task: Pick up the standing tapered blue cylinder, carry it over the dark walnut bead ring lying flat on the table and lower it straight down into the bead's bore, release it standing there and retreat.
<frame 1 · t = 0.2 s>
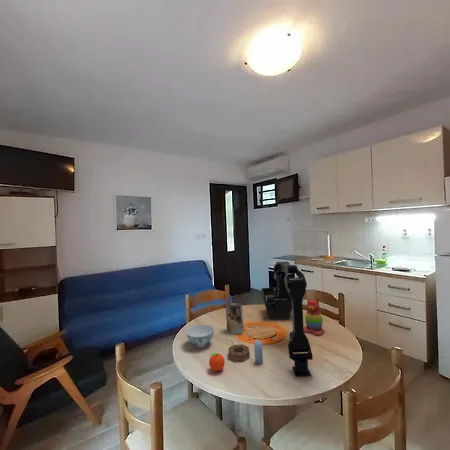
hand: (284, 314, 137), 14 cm above the table, fingers open, 9 cm apart
tapered blue cylinder: (259, 361, 119), on the table
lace: (231, 343, 137), on the table
black bin: (277, 316, 173), on the table
chinaware: (200, 344, 138), on the table
clementine: (216, 369, 115), on the table
bead: (239, 355, 125), on the table
stacking bear: (314, 331, 147), on the table
coffee box: (235, 331, 152), on the table
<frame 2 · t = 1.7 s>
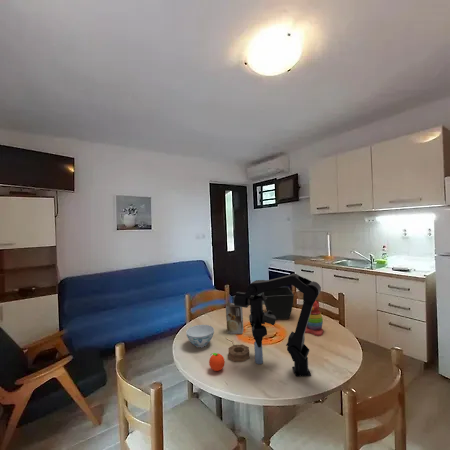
hand: (258, 342, 119), 9 cm above the table, fingers open, 9 cm apart
nothing on the table moved.
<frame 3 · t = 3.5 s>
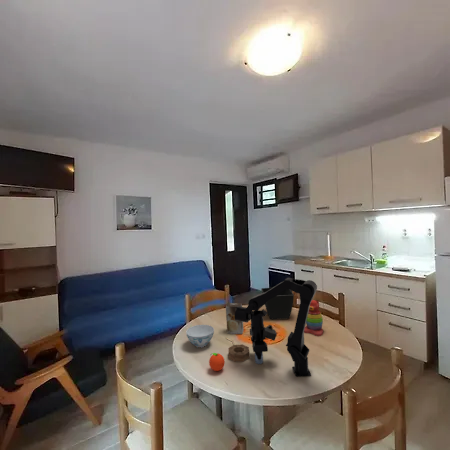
hand: (258, 357, 119), 2 cm above the table, fingers closed on tapered blue cylinder, 4 cm apart
tapered blue cylinder: (259, 361, 119), on the table, touching gripper
everything else where it was.
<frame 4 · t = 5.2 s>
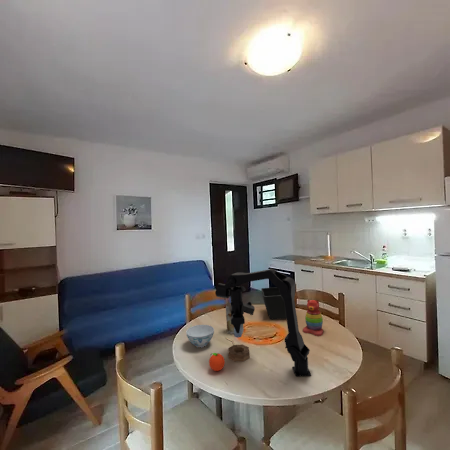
hand: (237, 331, 125), 12 cm above the table, fingers closed on tapered blue cylinder, 4 cm apart
tapered blue cylinder: (238, 335, 125), point 10 cm above the table, touching gripper
everything else where it was.
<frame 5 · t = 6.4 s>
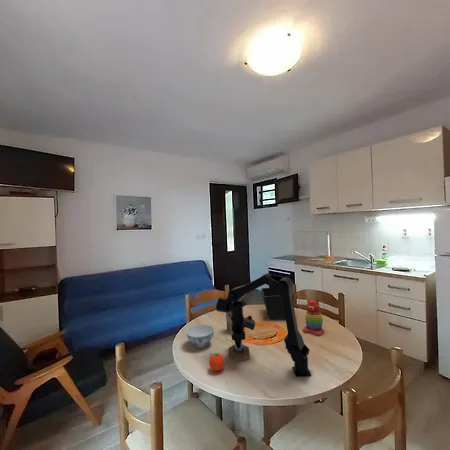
hand: (238, 345, 125), 5 cm above the table, fingers closed on tapered blue cylinder, 4 cm apart
tapered blue cylinder: (238, 350, 125), point 3 cm above the table, touching gripper
everything else where it was.
when the fingers open (4 cm above the table, at t = 7.3 s): tapered blue cylinder drops 2 cm, resting in bead.
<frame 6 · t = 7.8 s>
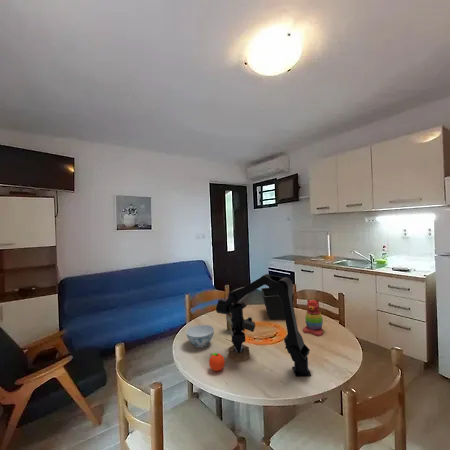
hand: (238, 347, 125), 4 cm above the table, fingers open, 9 cm apart
tapered blue cylinder: (239, 355, 125), resting in bead
everything else where it was.
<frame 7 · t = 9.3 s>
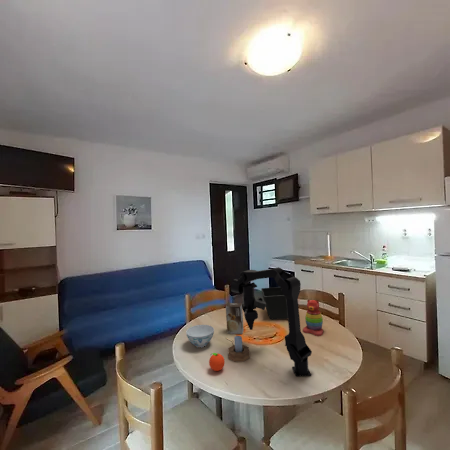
hand: (250, 325, 131), 12 cm above the table, fingers open, 9 cm apart
nothing on the table moved.
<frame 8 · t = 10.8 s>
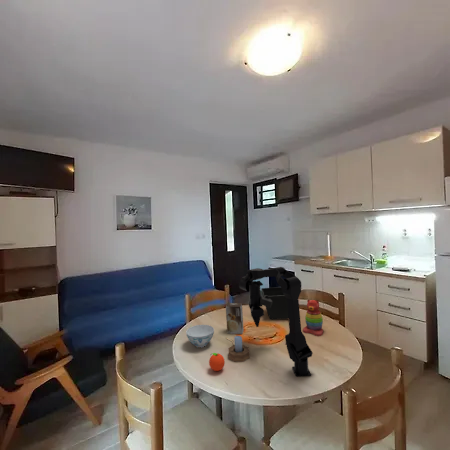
hand: (256, 322, 134), 12 cm above the table, fingers open, 9 cm apart
nothing on the table moved.
at the end: tapered blue cylinder 0.0 cm off-centre on the bead, point 0.0 cm above the bead's base; tapered blue cylinder tilted 0°; the gripper is holding nothing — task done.
